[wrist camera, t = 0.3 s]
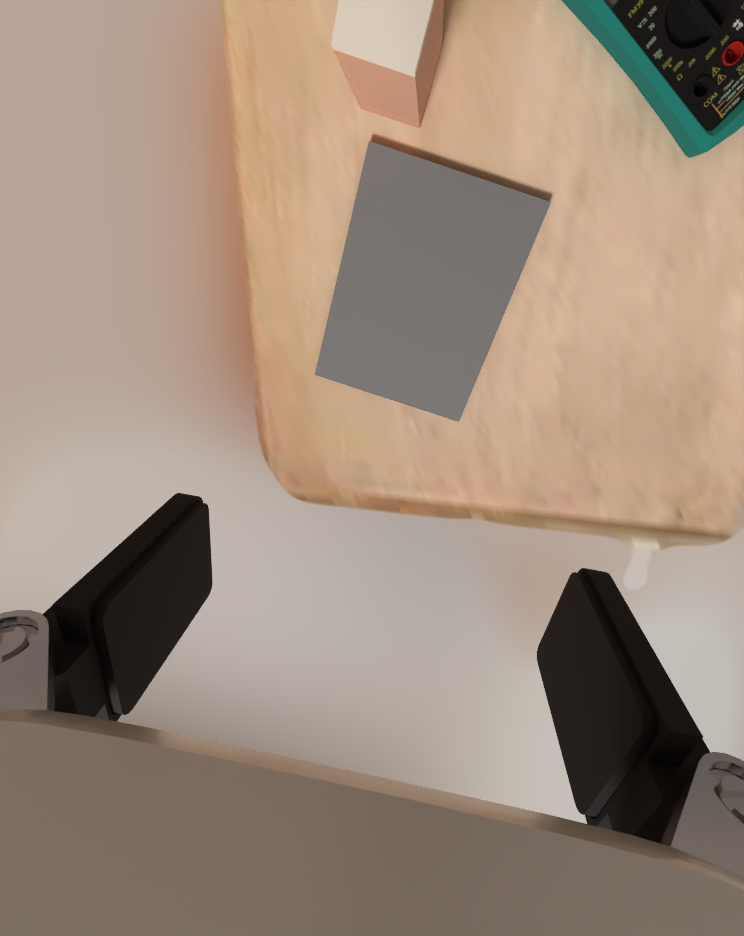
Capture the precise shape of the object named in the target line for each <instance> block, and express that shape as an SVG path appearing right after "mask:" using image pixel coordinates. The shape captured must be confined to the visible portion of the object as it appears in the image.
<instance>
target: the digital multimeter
mask: <svg viewBox="0 0 744 936" xmlns="http://www.w3.org/2000/svg"><path fill="white" fill-rule="evenodd" d="M562 1H563V2H564V3H565V4H566V6H567V7H568V8H569V9H570V10H571V11H572V12H573V13H574V14H575V15H576V16H577V18H578V19H579V20H580V21H581V22H582V23H583V24H584V25H585V26H586V27H587V29H588V30H589V31H590V32H591V33H592V34H593V35H594V36H595V37H596V38H597V39H598V41H599V42H600V43H601V44H602V45H603V46H604V47H605V49H606V50H607V51H608V52H609V53H610V55H611V56H612V57H613V58H614V60H615V61H616V62H617V63H618V64H619V66H620V67H621V68H622V69H623V70H624V72H625V73H626V74H627V75H628V76H629V78H630V79H631V80H632V81H633V82H634V84H635V85H636V86H637V88H638V89H639V90H640V92H641V93H642V94H643V96H644V97H645V99H646V100H647V101H648V103H649V104H650V105H651V107H652V108H653V109H654V111H655V112H656V114H657V115H658V116H659V118H660V119H661V120H662V122H663V123H664V124H665V126H666V127H667V129H668V130H669V132H670V133H671V135H672V136H673V138H674V139H675V140H676V142H677V143H678V145H679V146H680V148H681V149H682V151H683V152H684V154H685V155H686V156H688V157H694V156H697V155H699V154H702V153H704V152H707V151H709V150H710V149H712V148H713V147H714V146H716V145H717V144H719V143H720V142H722V141H723V140H725V139H726V138H727V137H729V136H730V135H732V134H733V133H734V132H736V131H737V130H738V129H740V128H741V127H742V126H743V125H744V0H562ZM614 12H615V13H616V14H615V13H614ZM617 16H618V17H619V18H618V17H617ZM620 20H621V21H622V22H623V23H622V22H621V21H620ZM624 25H625V26H626V27H625V26H624ZM627 29H628V30H629V31H630V32H629V31H628V30H627ZM631 34H632V35H633V36H632V35H631ZM634 38H635V39H636V40H637V41H636V40H635V39H634ZM638 43H639V44H640V45H639V44H638ZM641 47H642V48H643V49H644V50H643V49H642V48H641ZM695 50H696V51H695ZM691 51H692V52H691ZM645 52H646V53H647V54H646V53H645ZM648 56H649V57H650V58H651V59H650V58H649V57H648ZM652 61H653V62H654V63H653V62H652ZM655 65H656V66H657V67H658V68H657V67H656V66H655ZM659 70H660V71H661V72H660V71H659ZM662 74H663V75H664V76H665V77H664V76H663V75H662ZM666 79H667V80H668V81H667V80H666ZM669 83H670V84H671V85H672V86H671V85H670V84H669ZM673 88H674V89H675V90H674V89H673ZM676 92H677V93H678V94H679V95H678V94H677V93H676ZM687 106H688V107H689V108H688V107H687ZM690 110H691V111H692V112H691V111H690ZM694 115H695V116H696V117H695V116H694ZM698 120H699V121H698ZM701 124H702V125H703V126H702V125H701Z"/></svg>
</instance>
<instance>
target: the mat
mask: <svg viewBox="0 0 744 936" xmlns="http://www.w3.org/2000/svg"><path fill="white" fill-rule="evenodd" d="M550 203H551V202H550V201H547V200H544V199H541V198H538V197H535V196H532V195H529V194H526V193H523V192H520V191H517V190H514V189H511V188H508V187H505V186H502V185H499V184H496V183H493V182H490V181H487V180H484V179H481V178H478V177H475V176H472V175H469V174H466V173H463V172H460V171H457V170H454V169H451V168H448V167H445V166H443V165H440V164H437V163H434V162H431V161H428V160H425V159H422V158H419V157H416V156H413V155H410V154H407V153H404V152H401V151H398V150H395V149H392V148H389V147H386V146H383V145H380V144H377V143H374V142H371V141H369V144H368V148H367V152H366V156H365V161H364V165H363V169H362V174H361V178H360V182H359V187H358V191H357V195H356V200H355V204H354V208H353V213H352V217H351V221H350V226H349V230H348V234H347V239H346V243H345V247H344V252H343V256H342V260H341V265H340V269H339V273H338V278H337V282H336V286H335V291H334V295H333V299H332V304H331V308H330V312H329V317H328V321H327V325H326V329H325V334H324V338H323V342H322V347H321V351H320V355H319V360H318V364H317V368H316V373H315V375H317V376H320V377H323V378H326V379H329V380H332V381H335V382H339V383H342V384H345V385H348V386H351V387H354V388H357V389H360V390H363V391H366V392H369V393H372V394H375V395H378V396H381V397H384V398H388V399H391V400H394V401H397V402H400V403H403V404H406V405H409V406H412V407H415V408H418V409H421V410H424V411H427V412H430V413H434V414H437V415H440V416H443V417H446V418H449V419H452V420H455V421H458V422H459V420H460V418H461V415H462V413H463V410H464V408H465V406H466V403H467V401H468V398H469V396H470V394H471V391H472V389H473V387H474V384H475V382H476V379H477V377H478V375H479V372H480V370H481V367H482V365H483V363H484V360H485V358H486V355H487V353H488V351H489V348H490V346H491V344H492V341H493V339H494V336H495V334H496V332H497V329H498V327H499V324H500V322H501V320H502V317H503V315H504V313H505V310H506V308H507V305H508V303H509V301H510V298H511V296H512V293H513V291H514V289H515V286H516V284H517V281H518V279H519V277H520V274H521V272H522V270H523V267H524V265H525V262H526V260H527V258H528V255H529V253H530V250H531V248H532V246H533V243H534V241H535V239H536V236H537V234H538V231H539V229H540V227H541V224H542V222H543V219H544V217H545V215H546V212H547V210H548V207H549V205H550Z"/></svg>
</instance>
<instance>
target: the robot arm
mask: <svg viewBox="0 0 744 936" xmlns="http://www.w3.org/2000/svg"><path fill="white" fill-rule="evenodd" d="M209 527H210V526H209V509H208V505H207V504H205V503H203V501H202V498H200V497H198V496H192V495H187V494H182V493H177V494H175V495H174V496H173V497H172V498H171V499H169V500H168V501H167V502H166V503H165V504H164V505H163V506H162V507H161V508H159V509H158V510H157V511H156V512H155V513H154V514H153V515H152V516H151V517H149V518H148V519H147V520H146V521H145V522H144V523H143V524H142V525H141V526H139V527H138V528H137V529H136V530H135V531H134V532H133V533H132V534H131V535H130V536H128V537H127V538H126V539H125V540H124V541H123V542H122V543H121V544H119V545H118V546H117V547H116V548H115V549H114V550H113V551H112V552H111V553H109V554H108V555H107V556H106V557H105V558H104V559H103V560H102V561H101V562H99V563H98V564H97V565H96V566H95V567H94V568H93V569H92V570H91V571H89V572H88V573H87V574H86V575H85V576H84V577H83V578H82V579H81V580H79V581H78V582H77V583H76V584H75V585H74V586H73V587H72V588H71V589H69V590H68V591H67V592H66V593H65V594H64V595H63V596H62V597H61V598H60V599H58V600H57V601H56V602H55V603H54V604H53V605H52V606H51V607H50V608H49V609H48V610H47V611H46V612H45V613H44V614H43V615H42V614H41V613H38V612H34V611H30V610H17V611H11V612H5V613H2V614H0V936H744V761H742V760H741V759H738V758H736V757H733V756H731V755H728V754H726V753H719V752H712V753H710V751H709V749H708V748H707V746H706V744H705V742H704V741H703V739H702V738H703V736H702V734H701V732H700V731H699V729H698V728H697V726H696V724H695V722H694V720H693V719H692V717H691V715H690V713H689V712H688V710H687V708H686V706H685V705H684V703H683V701H682V699H681V698H680V696H679V694H678V692H677V691H676V689H675V687H674V685H673V684H672V682H671V680H670V678H669V677H668V675H667V673H666V672H665V670H664V668H663V666H662V665H661V663H660V661H659V659H658V658H657V656H656V654H655V652H654V651H653V649H652V647H651V646H650V644H649V642H648V640H647V638H646V637H645V635H644V633H643V632H642V630H641V628H640V626H639V625H638V623H637V621H636V619H635V617H634V616H633V614H632V612H631V611H630V609H629V607H628V605H627V604H626V602H625V600H624V598H623V597H622V595H621V593H620V591H619V590H618V588H617V586H616V584H615V583H614V581H613V579H612V577H611V576H610V575H609V574H608V573H606V572H602V571H597V570H591V569H585V568H582V569H580V570H579V572H578V573H575V572H574V573H572V574H571V575H570V577H569V579H568V582H567V584H566V586H565V588H564V590H563V593H562V595H561V597H560V599H559V602H558V604H557V606H556V608H555V610H554V613H553V615H552V617H551V619H550V622H549V624H548V626H547V628H546V631H545V633H544V635H543V637H542V640H541V642H540V644H539V646H538V650H537V661H538V665H539V669H540V673H541V677H542V681H543V684H544V688H545V692H546V696H547V700H548V703H549V707H550V710H551V714H552V718H553V722H554V726H555V729H556V733H557V737H558V741H559V745H560V748H561V752H562V756H563V760H564V763H565V767H566V771H567V775H568V778H569V782H570V786H571V789H572V793H573V797H574V801H575V804H576V807H577V809H578V811H579V812H580V813H581V814H584V815H585V817H586V820H587V824H584V823H580V822H576V821H572V820H567V819H563V818H560V817H555V816H551V815H547V814H543V813H538V812H533V811H529V810H525V809H520V808H516V807H511V806H507V805H503V804H498V803H493V802H489V801H485V800H480V799H475V798H471V797H466V796H462V795H457V794H453V793H449V792H445V791H440V790H436V789H431V788H427V787H422V786H418V785H413V784H409V783H403V782H399V781H395V780H390V779H385V778H381V777H377V776H372V775H367V774H363V773H358V772H354V771H349V770H344V769H340V768H335V767H331V766H326V765H322V764H317V763H312V762H308V761H303V760H298V759H294V758H289V757H285V756H280V755H276V754H271V753H266V752H261V751H256V750H252V749H247V748H243V747H238V746H233V745H228V744H224V743H219V742H214V741H209V740H205V739H200V738H195V737H191V736H186V735H181V734H177V733H171V732H167V731H162V730H157V729H152V728H147V727H142V726H137V725H132V724H126V723H121V722H117V720H118V719H119V717H120V716H121V715H122V714H123V715H126V714H128V713H129V712H130V711H131V710H132V709H133V708H134V706H135V705H136V703H137V702H138V700H139V699H140V697H141V696H142V694H143V693H144V691H145V690H146V688H147V687H148V685H149V684H150V682H151V681H152V679H153V678H154V676H155V675H156V673H157V672H158V670H159V669H160V668H161V666H162V664H163V663H164V661H165V660H166V659H167V657H168V655H169V654H170V652H171V651H172V649H173V648H174V647H175V645H176V644H177V642H178V641H179V639H180V638H181V636H182V635H183V633H184V632H185V630H186V629H187V627H188V626H189V624H190V623H191V621H192V620H193V618H194V617H195V615H196V614H197V612H198V611H199V609H200V608H201V606H202V605H203V603H204V602H205V600H206V599H207V597H208V596H209V594H210V591H211V588H212V565H211V547H210V528H209Z"/></svg>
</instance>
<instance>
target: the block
mask: <svg viewBox="0 0 744 936" xmlns="http://www.w3.org/2000/svg"><path fill="white" fill-rule="evenodd" d="M443 14H444V0H339V2H338V8H337V13H336V19H335V24H334V30H333V35H332V41H331V46H332V48H333V50H334V52H335V54H336V56H337V59H338V61H339V63H340V65H341V67H342V69H343V72H344V74H345V76H346V78H347V80H348V82H349V85H350V87H351V89H352V91H353V93H354V95H355V98H356V100H357V102H358V104H359V106H360V108H361V109H364V110H367V111H370V112H372V113H375V114H378V115H381V116H384V117H387V118H390V119H393V120H396V121H399V122H402V123H405V124H408V125H411V126H414V127H417V128H420V126H421V122H422V118H423V115H424V111H425V107H426V104H427V100H428V96H429V93H430V89H431V86H432V82H433V78H434V75H435V71H436V67H437V64H438V60H439V56H440V53H441V49H442V35H443Z"/></svg>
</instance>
